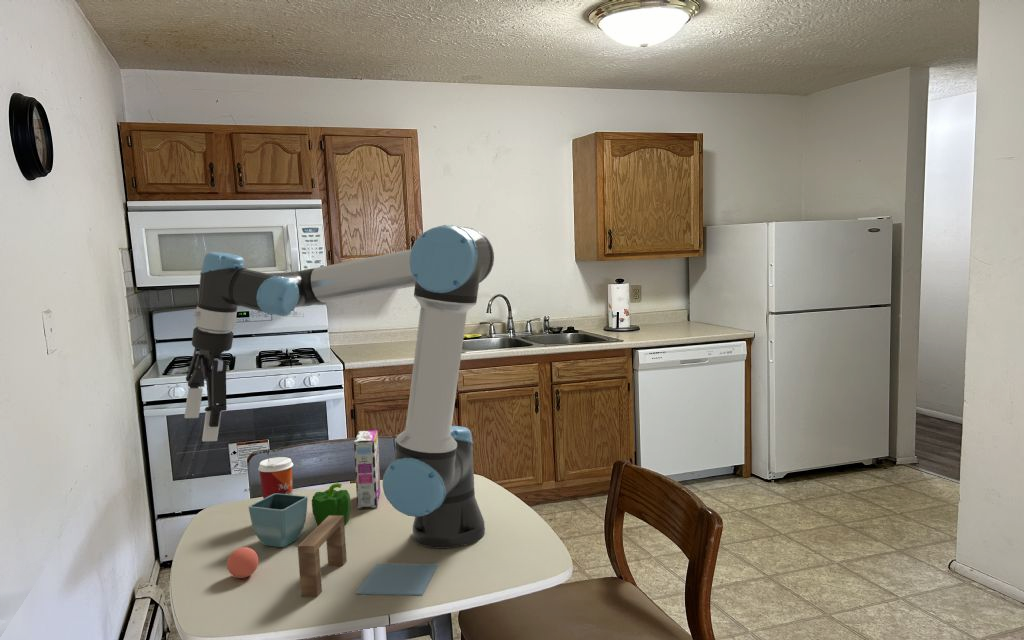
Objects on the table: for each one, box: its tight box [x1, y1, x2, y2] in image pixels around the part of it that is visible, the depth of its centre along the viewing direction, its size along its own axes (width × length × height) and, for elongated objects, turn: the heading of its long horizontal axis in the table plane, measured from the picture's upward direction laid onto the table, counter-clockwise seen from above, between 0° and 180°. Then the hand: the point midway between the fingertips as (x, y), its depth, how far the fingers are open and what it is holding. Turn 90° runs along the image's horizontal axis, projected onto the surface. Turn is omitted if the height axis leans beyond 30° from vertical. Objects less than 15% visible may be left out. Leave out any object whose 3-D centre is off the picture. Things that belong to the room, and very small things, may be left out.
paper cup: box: [257, 456, 294, 499], centre depth 161 cm, size 8×8×14 cm
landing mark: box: [355, 563, 438, 596], centre depth 130 cm, size 12×12×1 cm
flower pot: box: [248, 493, 309, 548], centre depth 149 cm, size 9×9×9 cm
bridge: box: [297, 516, 347, 598], centre depth 131 cm, size 3×14×9 cm, turn 173°
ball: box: [226, 546, 259, 579], centre depth 133 cm, size 6×6×6 cm
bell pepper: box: [311, 482, 352, 527], centre depth 156 cm, size 8×8×10 cm
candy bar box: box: [353, 429, 381, 510], centre depth 172 cm, size 11×5×16 cm, turn 6°
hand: (200, 428), depth 146 cm, fingers open, 13 cm apart
